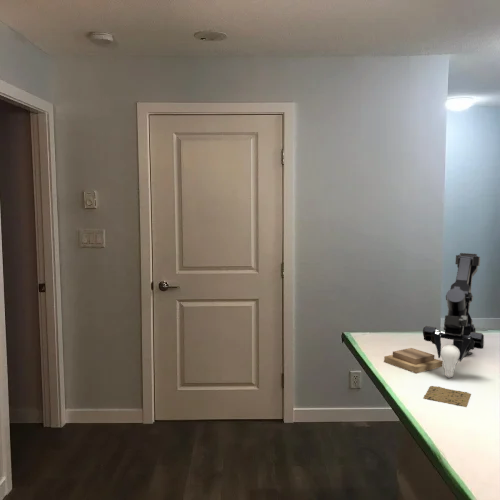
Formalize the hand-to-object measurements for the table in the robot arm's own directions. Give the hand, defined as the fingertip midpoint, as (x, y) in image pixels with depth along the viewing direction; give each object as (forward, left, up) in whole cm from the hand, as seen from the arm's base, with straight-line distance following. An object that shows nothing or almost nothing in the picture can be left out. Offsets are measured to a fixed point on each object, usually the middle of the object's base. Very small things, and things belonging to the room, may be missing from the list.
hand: (449, 359), depth 163 cm
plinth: (-4, -15, -7) cm, 17 cm away
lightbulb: (-1, 0, -7) cm, 7 cm away
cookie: (+15, +8, -7) cm, 18 cm away
